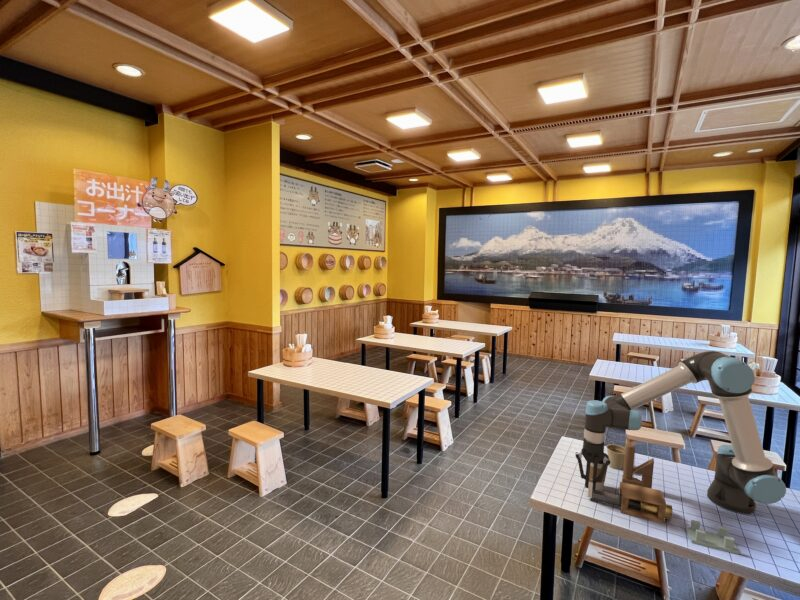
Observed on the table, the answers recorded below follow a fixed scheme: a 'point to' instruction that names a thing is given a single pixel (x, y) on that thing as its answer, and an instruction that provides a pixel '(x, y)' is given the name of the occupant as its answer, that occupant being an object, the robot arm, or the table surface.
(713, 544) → the cradle
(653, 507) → the gold metallic block
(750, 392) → the robot arm
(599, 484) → the coffee cup
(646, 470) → the wooden bracket
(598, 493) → the drift bar
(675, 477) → the table surface
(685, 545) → the table surface
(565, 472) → the table surface
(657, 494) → the box
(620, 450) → the flower pot
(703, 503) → the table surface
